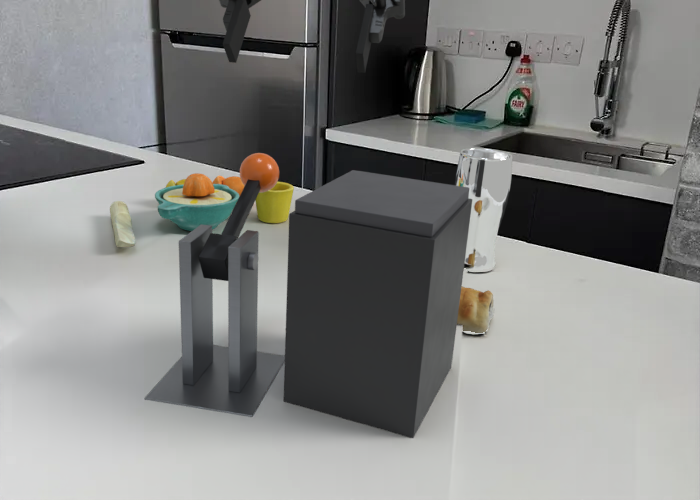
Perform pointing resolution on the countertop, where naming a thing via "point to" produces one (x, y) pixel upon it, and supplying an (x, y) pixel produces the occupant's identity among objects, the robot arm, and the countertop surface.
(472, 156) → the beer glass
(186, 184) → the toy juicer set
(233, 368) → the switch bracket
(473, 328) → the pastry
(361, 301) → the lidded storage box
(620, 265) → the countertop surface
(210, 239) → the lever
